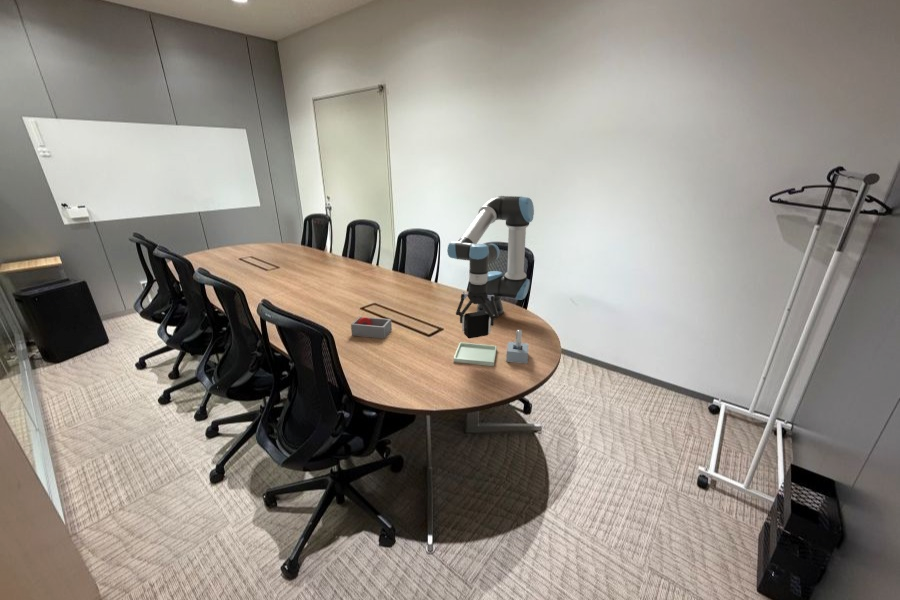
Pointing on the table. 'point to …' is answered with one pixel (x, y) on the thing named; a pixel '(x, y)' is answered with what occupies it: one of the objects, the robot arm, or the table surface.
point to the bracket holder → (372, 328)
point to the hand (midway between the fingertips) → (476, 331)
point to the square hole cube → (517, 353)
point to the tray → (475, 354)
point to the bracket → (364, 321)
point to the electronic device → (476, 324)
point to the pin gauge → (518, 339)
